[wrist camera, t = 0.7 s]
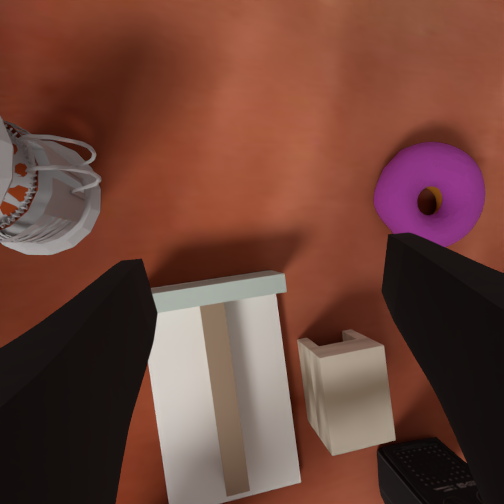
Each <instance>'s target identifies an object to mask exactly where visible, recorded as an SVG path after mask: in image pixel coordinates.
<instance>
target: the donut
mask: <svg viewBox="0 0 504 504" xmlns="http://www.w3.org/2000/svg"><path fill="white" fill-rule="evenodd" d="M424 188H427V189H429V190H430V191H431V192H432V193H433V194H434V196H435V198H436V202H437V205H436V210H435V212H434V213H433V214H432V215H424V214H422V213H421V212H420V211H419V208H418V204H417V199H418V195H419V194H420V192H421V191H422V190H423V189H424ZM484 201H485V186H484V180H483V176H482V173H481V170H480V169H479V167H478V165H477V164H476V162H475V161H474V160H473V159H472V158H471V157H470V156H469V155H468V154H467V153H465V152H464V151H462V150H460V149H459V148H457V147H455V146H452V145H449V144H445V143H439V142H424V143H419V144H415V145H412V146H410V147H407V148H404V149H402V150H400V151H399V152H398V153H397V155H396V156H395V157H394V158H393V159H392V160H391V161H390V162H389V163H388V164H387V165H386V166H385V167H384V168H383V170H382V174H381V176H380V178H379V180H378V182H377V185H376V188H375V191H374V206H375V209H376V211H377V213H378V215H379V216H380V218H381V219H382V221H383V222H384V223H385V224H386V225H387V226H388V227H389V229H390V230H391V231H392V232H393V234H398V233H408V232H410V233H413V234H416V235H418V236H421V237H423V238H426V239H428V240H430V241H432V242H435V243H437V244H439V245H441V246H443V247H447V246H449V245H451V244H454V243H455V242H457V241H459V240H460V239H462V238H463V237H464V236H465V235H467V234H468V233H469V232H470V231H471V229H472V228H473V227H474V225H475V224H476V222H477V220H478V219H479V217H480V215H481V212H482V209H483V206H484Z"/></svg>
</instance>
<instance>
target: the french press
mask: <svg viewBox="0 0 504 504" xmlns="http://www.w3.org/2000/svg"><path fill="white" fill-rule="evenodd" d="M13 127H14V128H17V129H20V130H22V131H24V132H22V131H19V130H16V129H14V128H13ZM18 132H20V133H23V134H26V135H22V134H19V133H18ZM40 139H51V140H57V141H63V142H69V143H74V144H77V145H80V146H83V147H86V148H88V149H89V150H90V151H91V152H92V157H91V158H90V159H89V160H87V161H85V160H84V159H83V158H82V157H81V156H80V155H79V154H78V153H77V152H76V151H74V150H71V149H69V148H67V147H65V146H63V145H60V144H58V143H56V142H54V141H41V140H40ZM95 158H96V152H95V150H94V149H93V148H92V146H90V145H88V144H86V143H85V142H82V141H78V140H73V139H68V138H63V137H58V136H53V135H35V134H30V133H29V132H28V131H26V130H24V129H22V128H20V127H19V126H17V125H15V124H13V123H10V122H7V121H4V120H2V118H1V116H0V242H1V243H2V244H3V245H4V246H7V247H9V248H12V249H14V250H17V251H19V252H22V253H24V254H27V255H53V254H55V253H58V252H61V251H64V250H66V249H69V248H72V247H74V246H75V245H76V244H78V243H79V242H80V241H81V240H82V239H83V238H84V237H85V236H86V235H88V234H89V233H90V232H91V230H92V228H93V226H94V224H95V222H96V220H97V217H98V215H99V213H100V203H101V189H100V186H99V183H100V182H101V176H100V175H98V174H97V173H95V172H94V171H93V169H92V168H91V167H90V166H89V165H88V164H89V163H92V162H93V161H94V160H95ZM96 178H97V179H96Z"/></svg>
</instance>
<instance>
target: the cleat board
mask: <svg viewBox="0 0 504 504" xmlns="http://www.w3.org/2000/svg"><path fill="white" fill-rule="evenodd" d="M151 292H152V295H153V298H154V302H155V305H156V309H157V312H158V315H157V322H156V330H155V336H154V342H153V346H152V349H151V353H150V356H149V360H148V364H149V371H150V378H151V385H152V391H153V398H154V405H155V412H156V419H157V426H158V432H159V439H160V446H161V453H162V460H163V467H164V473H165V480H166V487H167V494H168V501H169V504H220V503H224V502H228V501H232V500H235V499H239V498H243V497H247V496H251V495H255V494H258V493H262V492H266V491H270V490H274V489H278V488H281V487H285V486H289V485H293V484H297V483H301V477H300V470H299V462H298V455H297V447H296V440H295V432H294V425H293V417H292V410H291V402H290V395H289V387H288V380H287V372H286V365H285V357H284V350H283V342H282V335H281V327H280V320H279V312H278V305H277V298H276V294H277V293H283V292H287V289H286V282H285V274H284V273H280V272H277V271H273V270H267V271H260V272H253V273H247V274H240V275H233V276H227V277H220V278H214V279H207V280H200V281H194V282H187V283H181V284H174V285H167V286H161V287H154V288H151Z"/></svg>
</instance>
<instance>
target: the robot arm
mask: <svg viewBox="0 0 504 504" xmlns="http://www.w3.org/2000/svg"><path fill="white" fill-rule="evenodd" d="M382 294H383V296H384V299H385V301H386V304H387V307H388V309H389V311H390V314H391V316H392V318H393V320H394V322H395V324H396V326H397V328H398V329H399V331H400V333H401V335H402V336H403V338H404V340H405V341H406V343H407V345H408V347H409V348H410V350H411V352H412V353H413V355H414V357H415V358H416V360H417V362H418V363H419V365H420V367H421V368H422V370H423V372H424V374H425V375H426V377H427V379H428V380H429V382H430V384H431V386H432V387H433V389H434V391H435V393H436V395H437V397H438V399H439V401H440V403H441V405H442V407H443V409H444V412H445V414H446V416H447V418H448V420H449V423H450V425H451V427H452V429H453V431H454V434H455V436H456V438H457V441H458V443H459V445H460V448H461V450H462V452H463V455H464V457H465V459H466V462H467V464H468V466H469V469H470V471H471V473H472V476H473V478H474V481H475V483H476V486H477V488H478V491H479V494H480V496H481V499H482V501H483V504H504V273H502V272H499V271H497V270H494V269H492V268H490V267H487V266H485V265H483V264H480V263H478V262H476V261H474V260H471V259H469V258H467V257H465V256H463V255H460V254H458V253H456V252H454V251H452V250H450V249H447V248H445V247H443V246H441V245H439V244H437V243H435V242H432V241H430V240H428V239H426V238H423V237H421V236H418V235H416V234H413V233H410V232H408V233H398V234H388V242H387V250H386V258H385V267H384V275H383V284H382ZM157 315H158V312H157V309H156V305H155V302H154V298H153V295H152V292H151V288H150V285H149V281H148V278H147V274H146V271H145V267H144V264H143V261H142V259H134V260H124V261H120V262H119V263H117V264H116V265H114V266H113V267H112V268H110V269H109V270H108V271H106V272H105V273H104V274H103V275H101V276H100V277H99V278H98V279H96V280H95V281H94V282H93V283H91V284H90V285H89V286H88V287H86V288H85V289H84V290H83V291H81V292H80V293H79V294H78V295H76V296H75V297H74V298H73V299H71V300H70V301H69V302H67V303H66V304H65V305H63V306H62V307H61V308H59V309H58V310H56V311H55V312H54V313H52V314H51V315H50V316H48V317H47V318H46V319H44V320H43V321H42V322H40V323H39V324H37V325H36V326H34V327H33V328H31V329H30V330H28V331H27V332H25V333H24V334H22V335H21V336H19V337H18V338H16V339H14V340H13V341H11V342H10V343H8V344H6V345H5V346H3V347H2V348H0V504H115V503H116V497H117V491H118V485H119V479H120V473H121V467H122V461H123V456H124V451H125V445H126V440H127V435H128V430H129V425H130V421H131V417H132V414H133V410H134V407H135V403H136V400H137V397H138V393H139V390H140V387H141V383H142V380H143V377H144V373H145V370H146V367H147V363H148V360H149V356H150V353H151V349H152V346H153V342H154V336H155V330H156V322H157Z"/></svg>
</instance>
